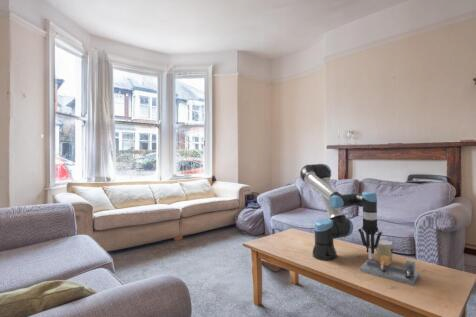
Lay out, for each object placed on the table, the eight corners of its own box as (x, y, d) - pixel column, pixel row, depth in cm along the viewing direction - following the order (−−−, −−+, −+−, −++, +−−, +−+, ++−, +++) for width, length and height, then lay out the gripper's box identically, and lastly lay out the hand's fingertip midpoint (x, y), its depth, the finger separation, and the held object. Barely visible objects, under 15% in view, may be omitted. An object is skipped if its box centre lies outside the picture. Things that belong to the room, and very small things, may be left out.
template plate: (360, 271, 151) (359, 257, 151) (367, 263, 161) (366, 250, 161) (414, 285, 134) (413, 269, 134) (418, 275, 143) (418, 261, 143)
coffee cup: (395, 265, 157) (395, 245, 157) (378, 264, 159) (378, 244, 159) (390, 258, 166) (389, 239, 166) (373, 258, 168) (373, 239, 168)
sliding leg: (378, 269, 148) (377, 259, 147) (381, 264, 153) (381, 255, 153) (386, 271, 145) (385, 261, 145) (389, 266, 151) (389, 256, 150)
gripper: (356, 218, 156) (356, 257, 157) (380, 221, 148) (381, 263, 149) (360, 215, 162) (361, 253, 163) (384, 218, 153) (384, 259, 154)
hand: (370, 258), depth 156 cm, fingers closed
